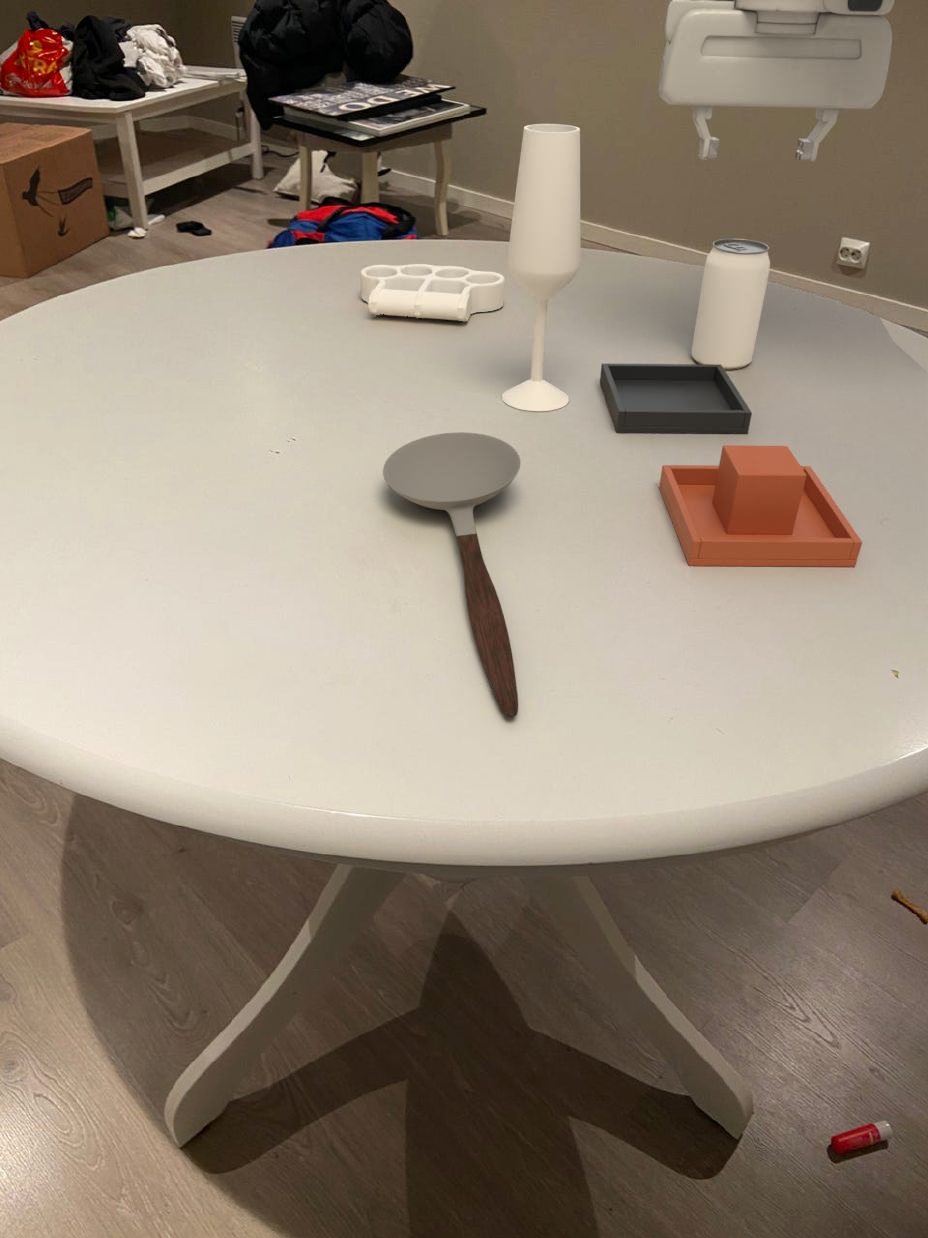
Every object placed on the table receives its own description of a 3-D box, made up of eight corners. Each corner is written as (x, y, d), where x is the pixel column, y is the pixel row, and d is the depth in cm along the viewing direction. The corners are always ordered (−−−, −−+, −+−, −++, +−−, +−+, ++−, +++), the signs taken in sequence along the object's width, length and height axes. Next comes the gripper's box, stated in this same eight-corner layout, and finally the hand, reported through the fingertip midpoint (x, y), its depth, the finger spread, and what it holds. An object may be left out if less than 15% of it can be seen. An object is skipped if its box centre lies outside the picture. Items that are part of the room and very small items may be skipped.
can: (714, 374, 100) (734, 256, 93) (678, 354, 105) (695, 240, 98) (763, 366, 103) (787, 249, 96) (726, 346, 107) (746, 234, 100)
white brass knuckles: (342, 318, 113) (373, 283, 125) (492, 329, 111) (509, 293, 123) (341, 290, 111) (372, 257, 123) (493, 300, 109) (511, 266, 121)
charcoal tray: (717, 384, 98) (721, 364, 97) (747, 433, 88) (752, 412, 87) (599, 382, 98) (601, 363, 97) (616, 432, 88) (618, 411, 87)
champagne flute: (574, 410, 92) (598, 134, 78) (505, 411, 92) (516, 134, 78) (563, 384, 97) (584, 122, 84) (498, 385, 97) (508, 121, 83)
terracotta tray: (804, 488, 79) (810, 465, 78) (855, 566, 69) (862, 542, 68) (658, 487, 79) (662, 464, 78) (688, 565, 69) (693, 541, 68)
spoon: (509, 457, 82) (507, 425, 80) (604, 724, 56) (605, 687, 54) (383, 472, 81) (378, 441, 79) (420, 751, 55) (415, 714, 54)
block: (774, 502, 76) (787, 445, 73) (792, 534, 72) (807, 474, 69) (711, 502, 76) (722, 444, 73) (726, 534, 72) (738, 474, 69)
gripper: (676, -16, 80) (653, 163, 88) (915, -10, 81) (872, 167, 89) (662, -18, 86) (642, 151, 94) (887, -13, 86) (848, 155, 94)
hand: (756, 159), depth 91 cm, fingers open, 8 cm apart
